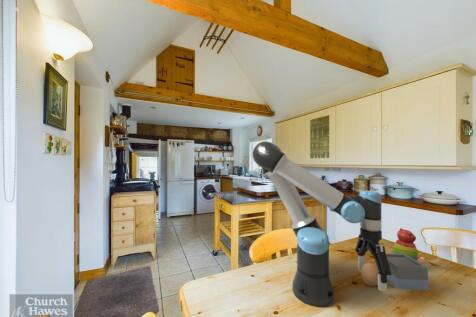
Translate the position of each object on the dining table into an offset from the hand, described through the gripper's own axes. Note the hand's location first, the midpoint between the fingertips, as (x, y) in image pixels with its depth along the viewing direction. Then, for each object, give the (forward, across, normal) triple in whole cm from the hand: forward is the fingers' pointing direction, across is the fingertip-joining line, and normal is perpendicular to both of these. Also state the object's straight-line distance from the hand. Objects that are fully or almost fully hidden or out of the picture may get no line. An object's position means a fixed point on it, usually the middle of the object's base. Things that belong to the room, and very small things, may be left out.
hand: (371, 279), depth 82 cm
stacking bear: (+2, +17, -27) cm, 32 cm away
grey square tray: (+2, +4, -15) cm, 16 cm away
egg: (+2, 0, 0) cm, 2 cm away
